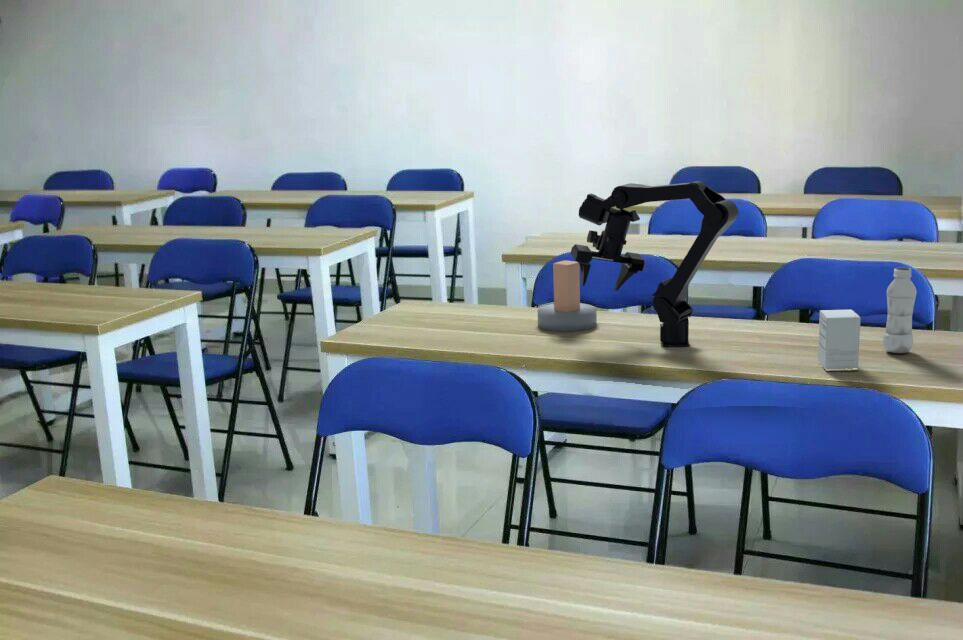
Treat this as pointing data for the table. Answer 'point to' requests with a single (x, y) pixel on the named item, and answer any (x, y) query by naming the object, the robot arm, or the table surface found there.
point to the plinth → (567, 318)
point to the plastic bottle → (900, 312)
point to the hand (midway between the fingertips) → (599, 287)
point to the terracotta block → (566, 286)
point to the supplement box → (839, 339)
